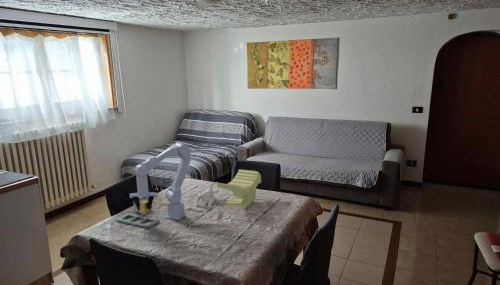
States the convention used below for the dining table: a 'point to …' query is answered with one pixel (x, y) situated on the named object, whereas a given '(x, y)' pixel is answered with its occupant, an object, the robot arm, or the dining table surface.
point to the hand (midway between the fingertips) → (144, 209)
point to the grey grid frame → (140, 224)
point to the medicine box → (139, 201)
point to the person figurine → (208, 195)
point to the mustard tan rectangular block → (144, 207)
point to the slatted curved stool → (242, 188)
